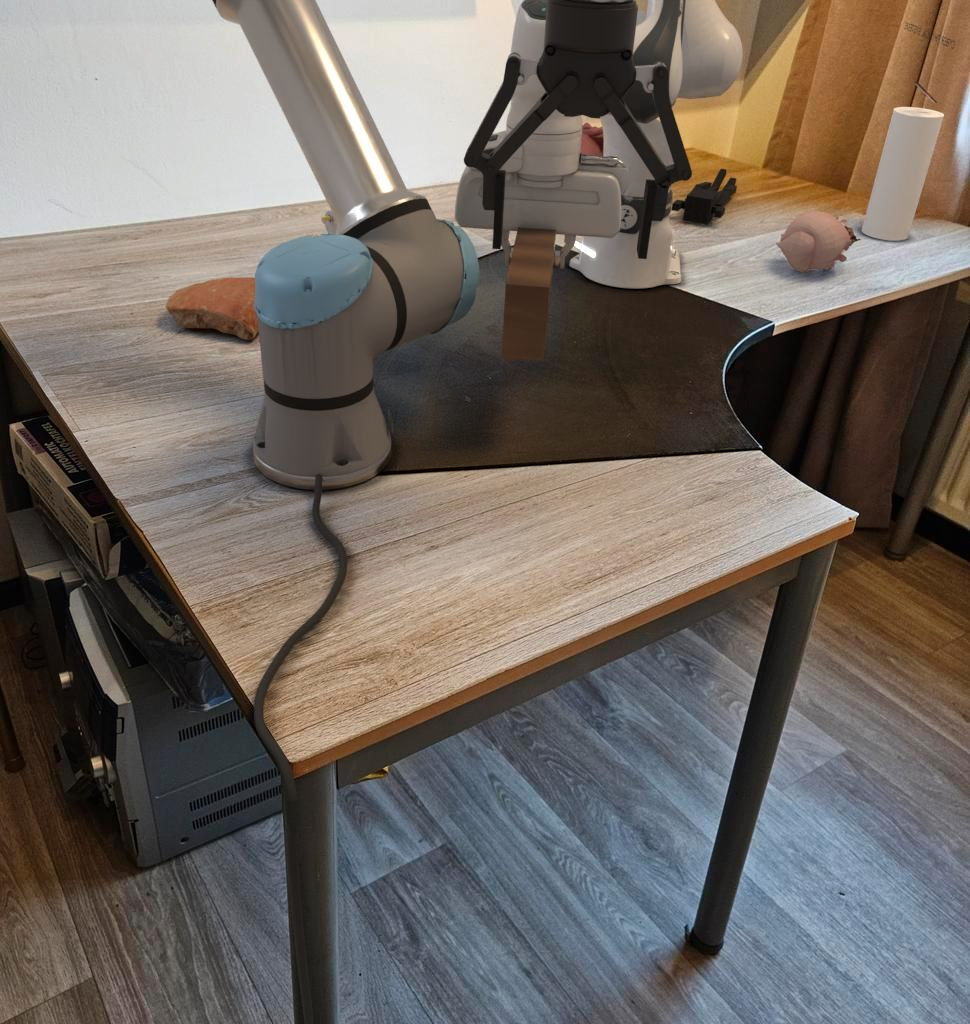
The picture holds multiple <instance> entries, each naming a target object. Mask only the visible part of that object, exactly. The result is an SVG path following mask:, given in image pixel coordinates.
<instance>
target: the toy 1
mask: <svg viewBox="0 0 970 1024" xmlns="http://www.w3.org/2000/svg"><path fill="white" fill-rule="evenodd" d="M727 171H728V170H727V169H726V168H720V169H719V171H718V173H717V175H716V177H715V178H714V180H713V182H710V181H704V182H700V183H697V184H695V185H694V187H693V188H692V190H691V191H690V192H688V193H687V195H686V197H685V198H684V200H683V199H676V200H674V201H673V202H672V205H671V211H673V212H680V210H683V216H682V221H683V222H687V223H693V224H699V225H706V226H707V225H709V223H711V221H712V220H713V218H716V219H722V217H723V216H724V215H725V212H726V204H727V203H728V201H729V199H730V198H731V197H732V196H734V195H735V194H736V193H737V188H738V185H736V182H737V177H732V176H731V177H730V178H729V179H728V180H727V182H726V183H725V185H724V187H723V188H722V190H719V189H720V188H721V186H722V184H723V181H724V180H725V178H726V176H727Z"/></svg>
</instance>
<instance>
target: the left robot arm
mask: <svg viewBox="0 0 970 1024" xmlns="http://www.w3.org/2000/svg"><path fill="white" fill-rule="evenodd" d="M211 1H212V3H213V5H214V7H215V9H216V11H217V13H218V15H219V16H220V17H221V18H222V19H223V20H225V21H227V22H230V23H233V24H237V25H239V26H240V28H241V30H242V32H243V34H244V37H245V38H246V41H247V42H248V44H249V47H250V48H251V50H252V52H253V54H254V56H255V59H256V60H257V63H258V65H259V67H260V69H261V71H262V73H263V75H264V77H265V80H266V81H267V83H268V85H269V87H270V89H271V91H272V93H273V95H274V97H275V99H276V101H277V103H278V106H279V107H280V110H281V111H282V113H283V115H284V117H285V119H286V122H287V124H288V125H289V127H290V129H291V131H292V133H293V136H294V137H295V139H296V142H297V144H298V146H299V147H300V150H301V151H302V154H303V156H304V158H305V160H306V162H307V164H308V165H309V168H310V170H311V172H312V174H313V176H314V178H315V180H316V182H317V183H318V187H319V188H320V191H321V192H322V194H323V197H324V198H325V201H326V202H327V205H328V206H329V208H330V211H332V212H333V214H334V217H335V219H336V221H337V223H338V229H337V232H336V234H328V233H321V234H320V235H317V236H313V235H304V236H300V237H295V238H293V239H290V240H287V241H285V242H282V243H280V244H278V245H276V246H275V247H273V248H271V249H269V251H267V253H265V254H264V255H263V256H262V257H261V259H260V260H259V261H258V264H257V267H256V270H255V274H254V275H255V276H254V278H255V300H254V307H255V311H256V314H257V317H258V328H259V332H258V337H259V348H260V357H261V358H260V359H261V369H262V379H263V388H264V390H263V391H264V396H263V400H262V404H261V408H260V412H259V415H258V419H257V423H256V427H255V430H254V434H253V439H252V455H253V460H254V464H255V467H256V468H257V470H258V471H259V472H260V473H261V474H262V475H263V476H265V477H266V478H268V479H269V480H271V481H273V482H275V483H278V484H280V485H283V486H286V487H290V488H295V489H301V490H312V491H313V492H314V493H313V501H312V508H311V515H312V519H313V523H314V525H315V526H316V528H317V530H318V531H319V532H320V533H321V534H322V535H323V537H324V538H325V539H327V541H329V543H330V544H332V546H333V547H334V548H335V550H336V552H337V555H338V562H339V563H338V564H339V565H338V571H337V576H336V578H335V581H334V583H333V584H332V587H331V589H330V591H329V592H328V593H327V595H326V597H325V599H324V600H323V602H322V604H321V605H320V607H318V609H317V610H316V611H315V612H314V614H312V615H311V616H310V617H309V618H308V619H307V620H306V621H305V622H304V623H303V624H302V625H300V627H298V628H297V629H296V630H295V631H294V632H293V633H292V634H291V635H290V636H289V637H288V638H287V640H286V641H285V642H284V644H282V646H281V647H280V649H279V650H278V652H277V653H276V655H275V656H274V658H273V659H272V661H271V662H270V664H269V665H268V667H267V669H266V670H265V672H264V674H263V676H262V678H261V680H260V682H259V684H258V687H257V690H256V693H255V697H254V703H253V722H254V727H255V729H256V732H257V734H258V737H259V738H260V740H261V741H262V742H263V744H264V745H265V747H266V748H267V750H268V751H269V753H270V754H271V755H272V757H273V759H274V760H275V762H276V763H277V767H278V769H279V771H280V774H281V777H282V781H283V785H284V789H285V795H286V799H287V801H288V802H295V801H296V800H297V799H298V792H297V791H298V790H297V786H296V782H295V777H294V773H293V770H292V767H291V765H290V762H289V760H288V758H287V755H286V754H285V752H284V751H283V749H282V748H281V746H280V745H279V744H278V742H277V741H276V740H275V738H274V737H273V736H272V734H271V733H270V731H269V729H268V728H267V724H266V721H265V716H264V707H265V701H266V695H267V692H268V689H269V687H270V685H271V682H272V681H273V679H274V677H275V675H277V674H276V673H277V672H278V671H279V669H280V668H281V665H282V664H283V662H284V661H285V659H286V658H287V656H288V654H289V653H290V652H291V650H292V649H293V648H294V646H295V645H296V644H297V643H298V642H299V641H300V640H301V639H302V638H303V637H304V636H305V635H306V634H307V633H309V631H310V630H311V629H313V627H315V626H316V624H318V623H319V622H320V621H321V620H322V619H323V618H324V616H326V614H327V613H328V611H329V610H330V609H331V607H332V606H333V604H334V603H335V601H336V599H337V597H338V595H339V593H340V592H341V590H342V588H343V585H344V583H345V580H346V578H347V577H346V576H347V570H348V556H347V552H346V548H345V546H344V545H343V543H342V542H341V541H340V540H339V538H337V537H336V536H335V534H333V532H332V531H330V529H328V528H327V526H326V525H325V523H324V521H323V520H322V517H321V513H320V509H321V503H322V502H321V501H322V492H323V490H327V491H328V490H337V489H342V488H348V487H351V486H355V485H358V484H361V483H363V482H366V481H368V480H370V479H373V478H374V477H375V476H377V475H378V474H380V473H381V472H382V471H383V470H384V469H385V468H386V467H387V466H388V464H389V463H390V461H391V458H392V437H391V432H392V433H394V422H393V417H392V415H391V411H390V408H389V406H387V418H388V422H389V425H390V429H391V432H390V430H389V427H388V424H387V422H386V419H385V417H384V413H383V411H382V408H381V406H380V403H379V400H378V398H377V395H376V393H375V385H374V358H375V356H378V355H380V354H383V353H385V352H388V351H391V350H394V349H395V348H398V347H400V346H403V345H406V344H407V343H411V342H413V341H415V340H418V339H420V338H422V337H425V336H427V335H435V334H439V333H440V332H441V331H443V330H444V329H447V328H448V327H449V326H451V325H453V324H456V323H457V322H459V321H460V320H462V319H463V318H464V317H465V316H467V314H468V313H469V311H470V310H471V309H472V307H473V306H474V304H475V301H476V298H477V295H478V294H477V289H478V287H480V274H481V273H480V264H479V263H480V262H479V258H478V255H477V251H476V248H475V246H474V244H473V241H472V240H471V238H470V237H469V235H468V234H467V232H466V231H465V230H464V229H463V227H460V226H459V225H455V223H454V222H453V221H450V220H447V219H439V218H437V217H436V215H435V213H434V211H433V208H432V207H431V204H430V203H429V201H428V199H427V197H426V196H425V195H422V194H419V193H416V192H414V191H411V190H409V189H408V188H407V186H406V185H405V181H404V180H403V179H402V176H401V174H400V172H399V170H398V168H397V166H396V163H395V162H394V160H393V157H392V155H391V153H390V152H389V149H388V147H387V145H386V143H385V141H384V139H383V137H382V134H381V132H380V131H379V129H378V127H377V124H376V122H375V120H374V118H373V116H372V114H371V112H370V110H369V108H368V106H367V104H366V101H365V100H364V98H363V96H362V93H361V92H360V88H359V87H358V85H357V83H356V81H355V79H354V77H353V75H352V72H351V70H350V69H349V66H348V64H347V62H346V61H345V58H344V56H343V54H342V52H341V50H340V48H339V46H338V43H337V42H336V39H335V37H334V35H333V33H332V32H331V30H330V27H329V25H328V23H327V21H326V19H325V17H324V15H323V13H322V10H321V9H320V6H319V4H318V3H317V0H211ZM638 11H639V5H638V4H637V1H636V0H547V9H546V23H545V37H544V50H543V54H542V56H541V58H540V59H539V60H534V59H529V58H523V57H520V55H519V54H518V53H511V52H510V53H509V55H508V56H507V59H506V62H505V67H504V74H503V80H502V83H501V84H500V86H499V88H498V90H497V92H496V94H495V95H494V98H493V100H492V101H491V104H490V105H489V107H488V109H487V111H486V113H485V115H484V117H483V119H482V120H481V123H479V124H480V125H479V126H478V127H477V130H476V132H475V134H474V136H473V137H472V140H471V141H470V143H469V145H468V147H467V149H466V150H465V154H464V157H463V164H464V165H465V167H466V166H467V167H473V168H476V169H478V170H479V171H481V172H482V174H483V199H482V205H483V208H484V210H493V211H494V226H493V230H492V250H501V248H502V246H501V243H502V230H503V212H504V194H505V176H506V170H499V169H500V168H501V167H502V166H503V165H504V164H505V163H506V162H507V160H508V159H509V158H510V157H511V156H512V155H513V154H514V153H515V152H516V151H517V150H518V149H519V147H520V146H521V145H522V144H523V143H524V142H525V141H526V140H527V139H528V138H529V137H530V136H531V134H532V133H533V132H534V131H535V130H536V129H537V128H538V127H539V126H540V125H541V124H542V123H543V122H544V121H545V120H546V119H547V118H548V117H549V116H550V115H551V114H552V113H553V112H554V111H555V110H557V111H558V112H560V113H561V114H563V115H564V116H566V117H575V116H580V115H581V116H583V117H587V118H590V119H599V120H601V119H600V117H602V116H605V115H607V114H608V113H609V112H610V113H611V114H612V116H613V117H614V119H615V120H616V122H617V123H618V125H619V126H620V127H621V129H622V130H623V132H624V133H625V135H626V136H627V138H628V139H629V141H630V142H631V144H632V145H633V147H634V148H635V150H636V151H637V153H638V155H639V156H640V158H641V159H642V161H643V162H644V164H645V165H646V167H647V168H648V170H649V171H650V173H651V174H652V176H653V177H654V179H655V181H654V180H649V179H646V184H645V191H644V198H643V206H642V213H641V220H640V228H639V235H638V243H637V254H638V259H647V252H648V245H649V238H650V231H651V224H652V221H662V220H663V218H664V216H665V210H666V203H667V197H668V190H669V187H670V186H671V187H672V185H673V184H675V183H678V182H681V181H683V182H686V181H689V180H690V179H691V178H692V176H693V170H692V167H691V164H690V161H689V157H688V155H687V151H686V148H685V146H684V145H685V144H684V142H683V138H682V136H681V132H680V129H679V126H678V123H677V120H676V117H675V113H674V111H673V106H672V107H671V104H670V101H669V98H668V70H667V68H666V66H665V64H664V63H663V62H661V61H658V62H655V63H654V64H653V65H644V66H635V65H634V63H633V48H634V39H635V31H636V22H637V14H638ZM533 74H536V75H537V77H538V79H539V81H540V83H541V84H542V86H543V88H544V90H545V91H546V92H545V93H544V94H543V96H542V97H541V98H540V99H539V100H538V101H537V102H536V104H535V105H534V106H533V108H532V109H531V110H530V111H529V112H528V113H527V114H526V115H525V116H524V117H523V119H522V120H521V121H520V122H519V123H518V124H517V125H516V126H515V127H514V128H513V130H512V131H511V132H510V133H509V134H508V135H507V136H506V137H505V138H504V139H503V141H502V142H501V143H500V144H499V145H498V146H497V147H496V148H495V149H494V150H493V152H492V153H491V154H490V155H487V154H485V153H483V151H484V149H485V147H486V145H487V143H488V141H489V139H490V138H491V136H492V134H494V133H495V130H496V128H497V126H498V125H499V123H500V121H501V119H502V117H503V116H504V114H505V111H506V110H507V108H508V107H509V104H510V103H511V98H512V96H513V94H514V92H515V89H516V86H517V85H524V84H525V83H526V82H527V79H528V78H529V76H531V75H533ZM635 80H637V81H640V82H641V83H642V84H643V88H644V90H645V91H646V92H647V93H652V96H653V100H654V103H655V106H656V109H657V112H658V115H659V117H658V120H659V121H660V122H661V125H662V128H663V131H664V134H665V137H666V140H667V143H668V146H669V149H670V152H671V155H672V158H673V162H674V164H672V165H669V166H665V165H664V163H663V162H662V160H661V158H660V157H659V155H658V154H657V152H656V151H655V149H654V148H653V146H652V145H651V143H650V141H649V140H648V138H647V137H646V135H645V134H644V132H643V131H642V129H641V127H640V126H639V124H638V123H637V121H636V120H635V118H634V117H633V115H632V114H631V112H630V110H629V108H628V107H627V105H626V104H625V102H624V100H623V99H622V97H623V96H624V94H625V93H626V92H627V91H628V90H629V88H630V87H631V86H632V85H633V83H634V82H635ZM286 832H287V833H286V852H287V853H286V854H287V867H288V869H287V870H288V881H289V893H290V894H289V895H290V905H291V917H292V928H293V937H294V945H295V955H296V965H297V972H298V980H299V988H300V989H299V990H300V997H301V1005H302V1013H303V1023H304V1024H315V1023H314V1014H313V1003H312V995H311V987H310V977H309V967H308V959H307V949H306V939H305V930H304V918H303V917H304V916H303V906H302V905H303V904H302V893H301V880H300V865H299V849H298V846H299V844H298V843H299V841H298V840H299V827H298V826H295V825H294V824H293V825H292V824H289V823H287V831H286Z"/></svg>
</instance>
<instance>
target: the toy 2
mask: <svg viewBox="0 0 970 1024" xmlns="http://www.w3.org/2000/svg"><path fill="white" fill-rule="evenodd" d="M853 227H854V226H849V225H848V221H847V220H846V219H845V218H844V217H842V216H836V217H835V216H834V215H833V214H831V213H828V212H824V211H821V210H810V211H806V212H804V213H802V214H800V215H799V216H797V217H795V218H794V219H793V220H792V221H791V222H790V223H789V225H788V227H787V228H786V229H785V231H784V233H781V234H780V240H779V242H776V241H775V245H776V246H777V247H778V248H779V249H780V250H781V253H782V255H783V256H784V257H785V259H786V262H787V264H788V265H789V267H790V268H791V269H792V270H793V271H797V272H802V273H808V272H810V270H811V271H816V270H818V271H819V270H820V271H823V272H825V269H827V271H829V270H832V269H833V268H834V267H835V262H837V261H839V262H841V263H844V262H846V261H847V260H848V258H847V256H845V255H844V253H846V252H847V251H848V250H849V248H850V247H852V246H853V244H854V243H856V242H858V241H861V240H862V239H861V238H857V235H855V234H856V233H855V230H854V228H853Z"/></svg>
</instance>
